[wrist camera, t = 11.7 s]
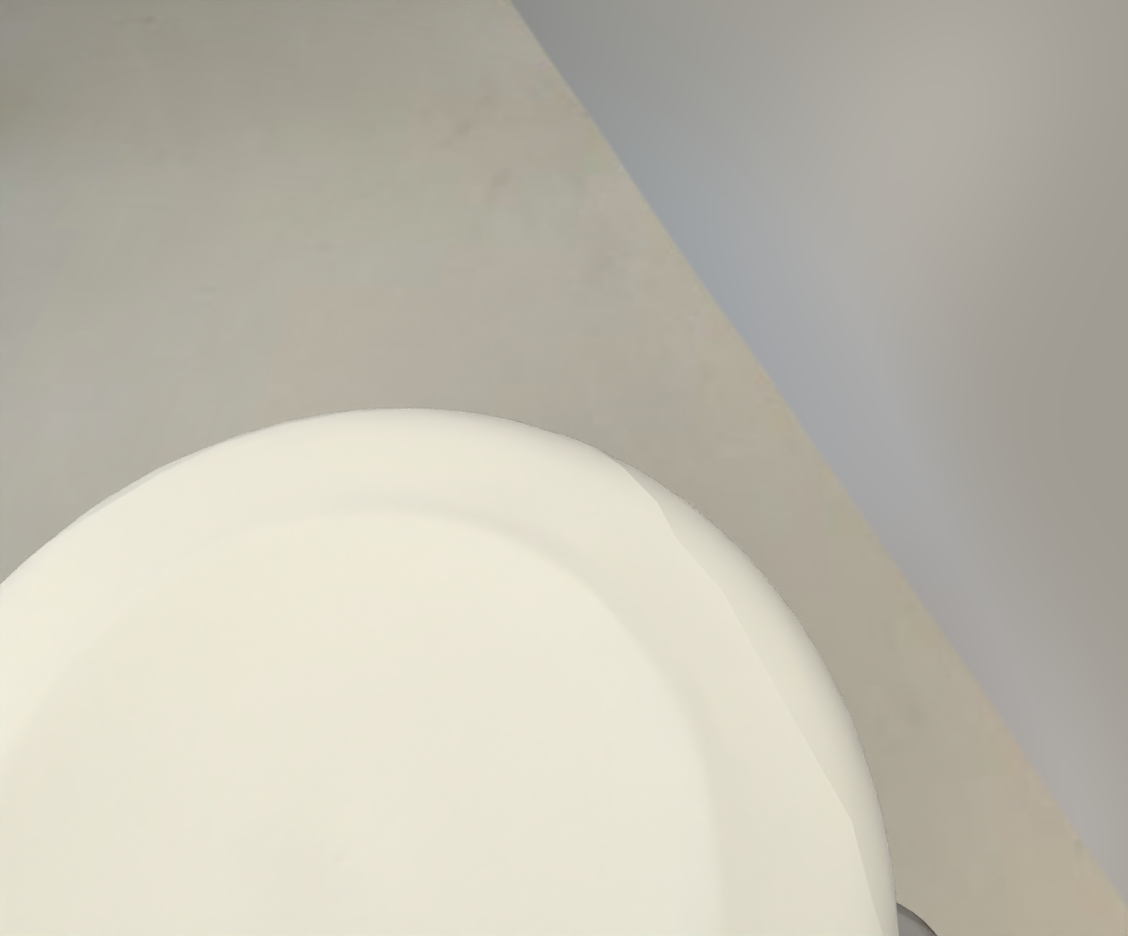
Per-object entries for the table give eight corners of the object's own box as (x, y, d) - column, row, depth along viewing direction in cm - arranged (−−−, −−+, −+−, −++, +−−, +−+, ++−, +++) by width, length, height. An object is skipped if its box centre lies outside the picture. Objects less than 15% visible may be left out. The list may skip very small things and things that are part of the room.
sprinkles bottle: (398, 818, 16) (-90, 407, 5) (652, 797, 16) (798, 336, 5) (394, 1132, 14) (-560, 1842, 2) (689, 1106, 14) (1136, 1678, 3)
